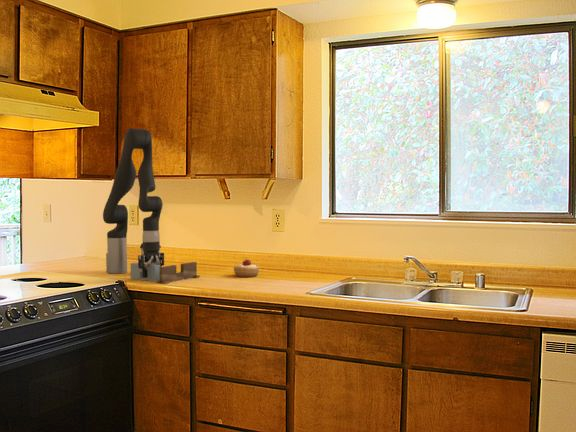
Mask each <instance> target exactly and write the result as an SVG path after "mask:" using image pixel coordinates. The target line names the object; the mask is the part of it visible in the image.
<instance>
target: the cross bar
mask: <svg viewBox="0 0 576 432" xmlns="http://www.w3.org/2000/svg"><path fill="white" fill-rule="evenodd" d="M145 266H146V265H145ZM159 267H160V265H154V264H150V265H149V266H148V268H147V273H148V277H147V278H143V276H142V269H140V268H138V262H131V263H130V279H131V278H133V280H144V279H145V281H149V282H156V280H160V279H159Z"/></svg>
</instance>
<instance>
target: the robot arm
mask: <svg viewBox="0 0 576 432" xmlns="http://www.w3.org/2000/svg"><path fill="white" fill-rule="evenodd" d="M134 150H142V154H143V155H142V161H141V163H140V165H139V167H138V170H137V169H136V166H135V164H134V162H133V158H132V157H133V153H134ZM137 171H138V172H137ZM136 179H137V180H138V186H139V195H138V203H137V204H138V208H139V210H140V211H141V212H143V213H151V212H152V213H151V214H150V215H149V216H148V217H144V218H143V219H142V243H143V251H144V254H143V255H141V254H138V255H137V263H138V268H140V269H142V276H143V278H145V279H146V278H147V277H148V273H147V268H148V266H149V265H150V263H154V264H155V265H160V267H165V253H164V252H161V248H160V246H161V244H160V242H161V241H160V238H161V237H160V219H161V215H162V214H161V213H162V210H163V200H162V198H161V197H160V196H157V195H153V196H151V195H148V194H149V193H152V192H154V191H155V190H156V182H155V177H154V168H153V139H152V134H151V132H150V131H149V130H148V129H145V128H144V129H143V128H134V127H133V128H129V129H127V130H126V132H125V135H124V140H123V144H122V150H121V155H120V159H119V163H118V166H117V169H116V172H115V176H114V179H113V182H112V183H113V184H112V186H111V190H110V192H109V195H108V198H107V200H106V203H105V204H104V205H105V206H104V208H103V212H102V219H103V221H104V223H105V224H109V225H114V224H116V225H115V227H114V228H113V229H111V230H109V231H107V233H106V240H107V241H106V242H107V243H106V244H107V251H106V253H105V261H106V262H105V263H106V264H105V266H106V273H108V274H125V273H127V272H128V244H127V243H128V238H127V236H128V226H129V222H128V221H129V220H128V219H129V213H128V212H129V211H128V208H127V206H126V205H124V204H119V202H120V201H121V200H122V199H123V198H124V197H125V196H126V195H127V194H128V193H129V192H130V191H131V190H132V188H133V187H134V184H135V182H136ZM159 250H160V252H159ZM158 257H159V259H158ZM146 262H147V263H146ZM145 265H146V266H145Z"/></svg>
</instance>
